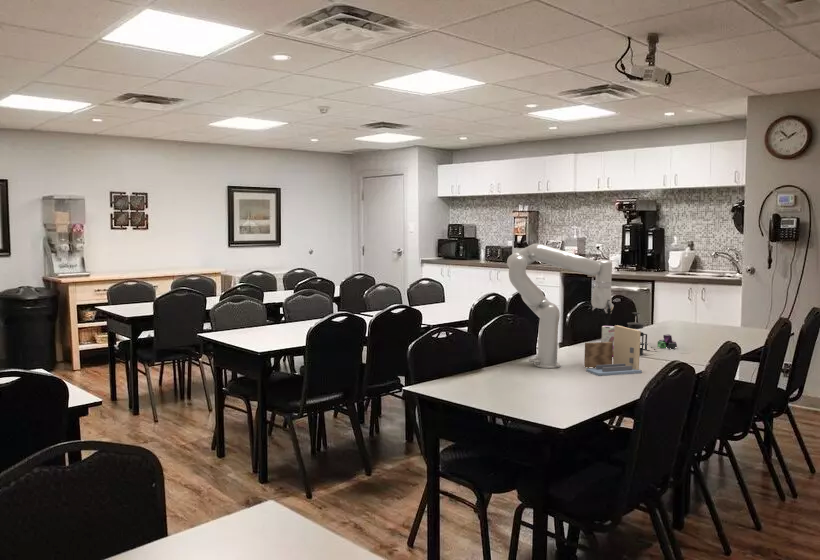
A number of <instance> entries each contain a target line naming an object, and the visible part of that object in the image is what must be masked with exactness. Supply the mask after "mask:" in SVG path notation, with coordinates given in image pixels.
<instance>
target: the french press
mask: <svg viewBox="0 0 820 560" xmlns="http://www.w3.org/2000/svg"><path fill="white" fill-rule="evenodd" d="M631 313H632V314H634V317H635V318H634V319H635V321H634V322H627V323H626V324H627V328H631V329H635V330H641V329H644V326H645V324H644V323H641V322H637V316H638V315H641V313H640V312H635V311H634V312H631ZM644 336H645V337H644ZM640 337H641V341H640V345H642V348H640V357H641V356H644V351H647V345H648V343H647V342H648V334H647V333H644V332H642V331H641V333H640ZM644 338H645V343H643V342H644ZM643 344H645V349H643Z"/></svg>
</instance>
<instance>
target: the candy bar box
mask: <svg viewBox="0 0 820 560" xmlns="http://www.w3.org/2000/svg"><path fill="white" fill-rule="evenodd" d="M614 329H615V325H614V326H613V325H602V326H601V331H600V332H601V338H600V339H601V342H612V343H613V353H612V357H613V355H614Z"/></svg>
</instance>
